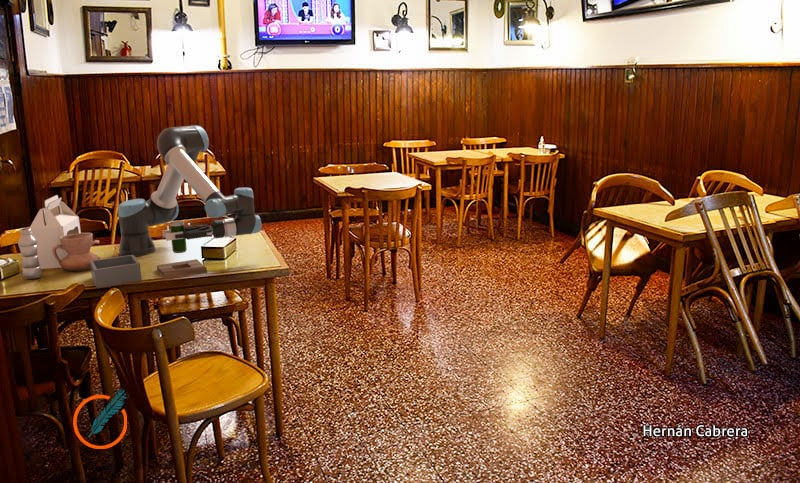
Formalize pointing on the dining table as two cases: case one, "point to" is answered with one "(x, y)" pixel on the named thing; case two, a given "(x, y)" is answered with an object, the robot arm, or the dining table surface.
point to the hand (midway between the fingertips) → (164, 235)
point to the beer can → (178, 244)
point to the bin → (115, 271)
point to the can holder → (181, 269)
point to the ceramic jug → (76, 251)
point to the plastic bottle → (29, 254)
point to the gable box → (53, 230)
